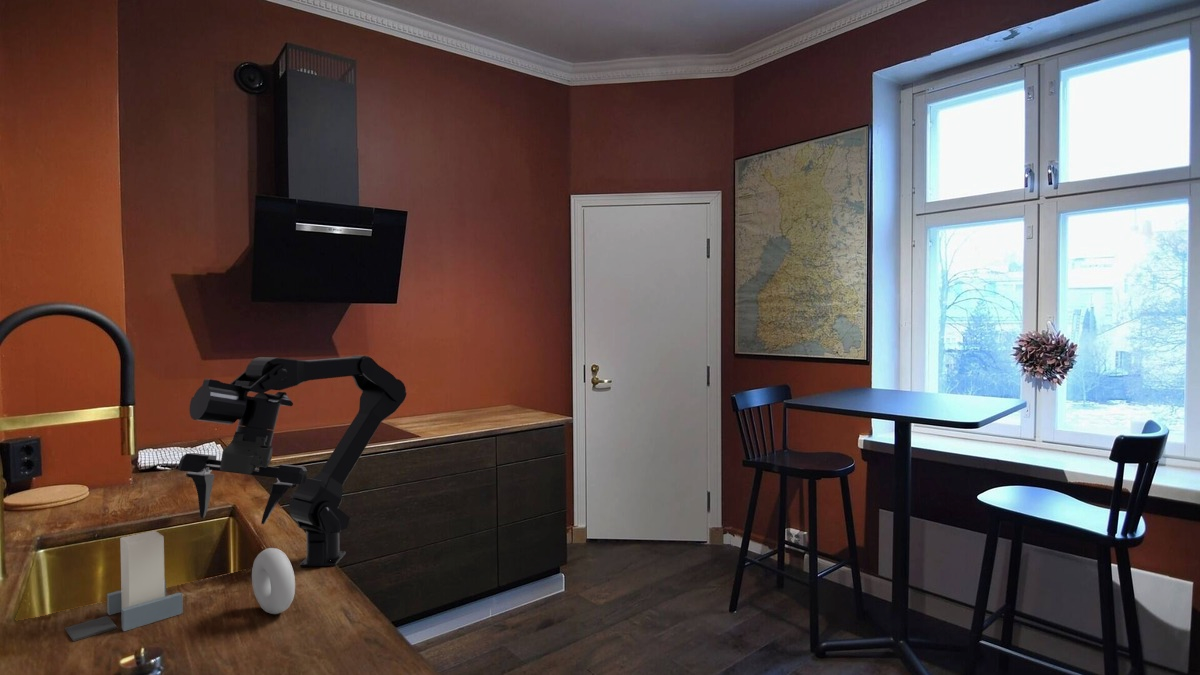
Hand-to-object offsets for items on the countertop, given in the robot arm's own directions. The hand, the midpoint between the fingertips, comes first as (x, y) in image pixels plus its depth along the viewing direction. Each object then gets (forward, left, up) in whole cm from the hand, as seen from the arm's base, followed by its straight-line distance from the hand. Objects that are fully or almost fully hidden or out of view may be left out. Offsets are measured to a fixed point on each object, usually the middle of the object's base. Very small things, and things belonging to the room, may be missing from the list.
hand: (233, 520), depth 105 cm
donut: (+9, +10, -12) cm, 18 cm away
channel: (+7, -10, -12) cm, 17 cm away
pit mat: (+12, -15, -12) cm, 22 cm away
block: (+7, -10, -12) cm, 17 cm away
